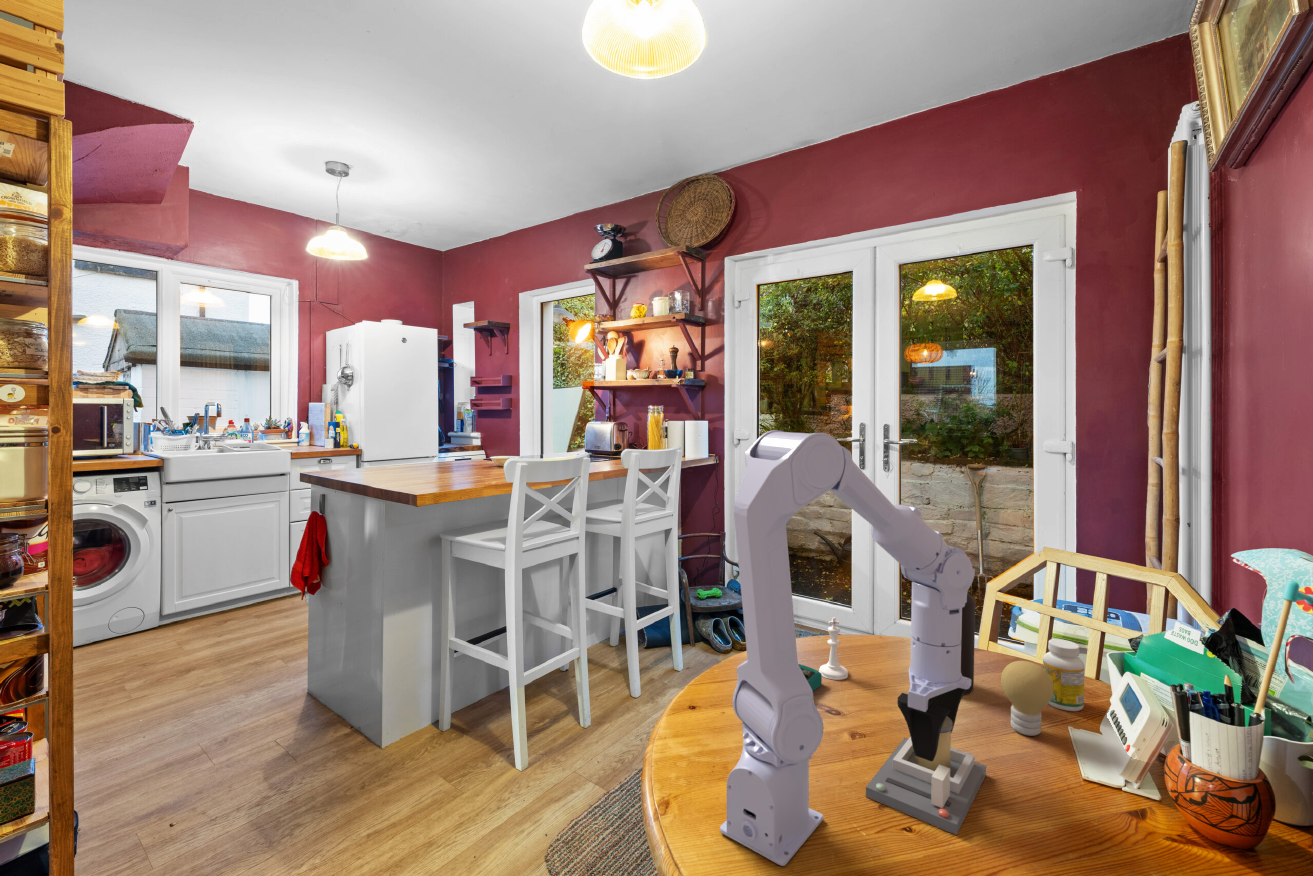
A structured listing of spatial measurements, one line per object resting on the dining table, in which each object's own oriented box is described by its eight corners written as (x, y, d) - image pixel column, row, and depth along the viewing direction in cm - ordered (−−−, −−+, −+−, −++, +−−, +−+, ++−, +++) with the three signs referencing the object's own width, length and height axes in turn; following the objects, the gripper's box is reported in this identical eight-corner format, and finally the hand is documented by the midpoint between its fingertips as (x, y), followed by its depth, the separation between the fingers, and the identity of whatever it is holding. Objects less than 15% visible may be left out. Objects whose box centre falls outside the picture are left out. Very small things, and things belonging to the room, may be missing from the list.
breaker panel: (956, 835, 64) (956, 814, 64) (865, 796, 71) (865, 777, 71) (986, 774, 75) (986, 756, 75) (904, 745, 81) (904, 729, 81)
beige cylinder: (946, 780, 72) (946, 732, 72) (908, 767, 75) (909, 720, 74) (956, 764, 75) (956, 718, 75) (920, 752, 78) (920, 707, 78)
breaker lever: (942, 808, 67) (942, 780, 66) (931, 803, 67) (931, 776, 67) (949, 795, 69) (950, 768, 69) (938, 790, 70) (939, 764, 70)
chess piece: (852, 680, 101) (852, 622, 101) (823, 680, 101) (823, 622, 101) (843, 667, 106) (843, 612, 106) (815, 667, 106) (816, 613, 106)
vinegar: (983, 691, 97) (985, 571, 96) (952, 699, 94) (955, 575, 94) (948, 674, 103) (950, 561, 102) (919, 681, 101) (920, 565, 100)
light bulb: (1056, 730, 85) (1057, 662, 85) (1047, 749, 81) (1049, 677, 80) (1005, 715, 90) (1007, 650, 89) (994, 732, 85) (996, 663, 84)
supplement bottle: (1089, 714, 90) (1091, 652, 89) (1049, 709, 91) (1050, 648, 91) (1074, 697, 95) (1076, 638, 94) (1037, 693, 96) (1038, 635, 96)
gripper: (954, 666, 66) (952, 784, 67) (984, 629, 77) (982, 731, 77) (890, 649, 70) (888, 760, 71) (927, 617, 81) (925, 713, 82)
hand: (933, 744), depth 75 cm, fingers open, 7 cm apart
